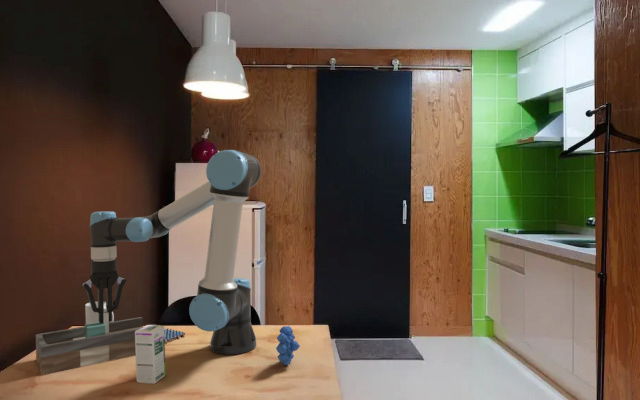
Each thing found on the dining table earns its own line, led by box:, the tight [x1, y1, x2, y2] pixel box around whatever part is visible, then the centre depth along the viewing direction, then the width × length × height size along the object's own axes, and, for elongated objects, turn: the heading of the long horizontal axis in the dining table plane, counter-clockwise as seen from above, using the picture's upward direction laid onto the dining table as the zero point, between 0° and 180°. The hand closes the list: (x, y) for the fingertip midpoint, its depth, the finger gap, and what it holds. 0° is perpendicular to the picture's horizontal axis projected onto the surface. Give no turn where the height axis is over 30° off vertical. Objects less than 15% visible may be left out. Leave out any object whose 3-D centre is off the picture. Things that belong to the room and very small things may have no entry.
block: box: [84, 322, 105, 338], centre depth 147 cm, size 5×5×5 cm
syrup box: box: [135, 324, 167, 385], centre depth 128 cm, size 6×6×14 cm
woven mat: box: [164, 328, 186, 344], centre depth 165 cm, size 10×11×2 cm
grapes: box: [275, 325, 301, 366], centre depth 138 cm, size 12×7×12 cm, turn 166°
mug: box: [84, 301, 115, 324], centre depth 166 cm, size 10×7×12 cm, turn 85°
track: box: [35, 316, 144, 376], centre depth 147 cm, size 15×32×8 cm, turn 127°
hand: (105, 332), depth 149 cm, fingers closed
